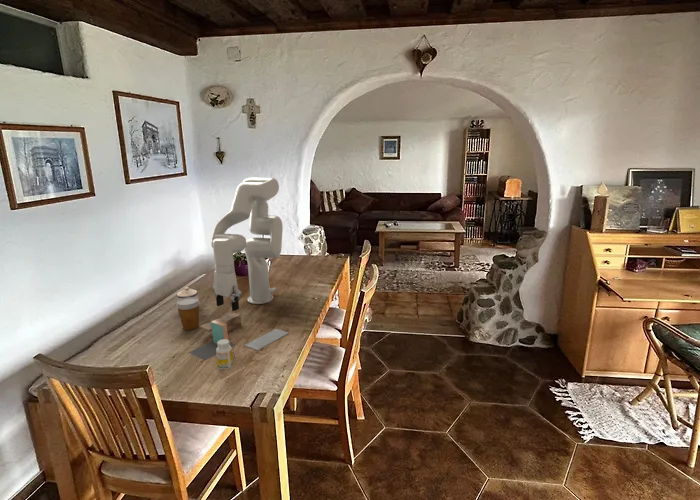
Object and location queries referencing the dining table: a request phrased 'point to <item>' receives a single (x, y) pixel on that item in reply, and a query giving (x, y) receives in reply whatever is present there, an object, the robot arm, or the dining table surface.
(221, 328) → the tile
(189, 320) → the disposable coffee cup
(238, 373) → the dining table surface
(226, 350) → the supplement bottle
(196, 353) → the mat
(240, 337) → the dining table surface
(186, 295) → the teacup with lid
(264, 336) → the rest
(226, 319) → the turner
